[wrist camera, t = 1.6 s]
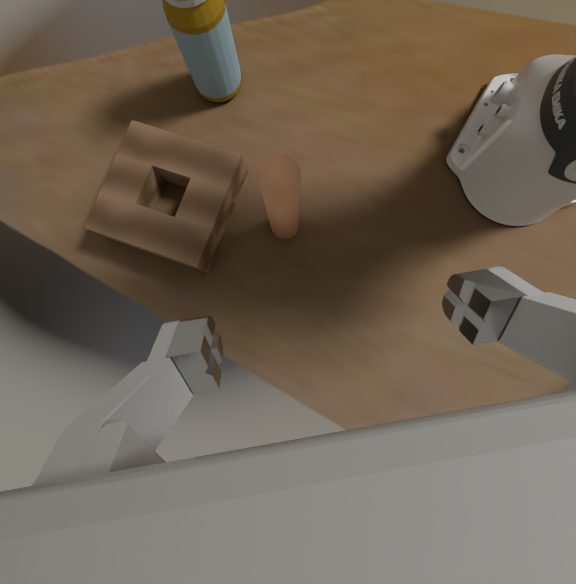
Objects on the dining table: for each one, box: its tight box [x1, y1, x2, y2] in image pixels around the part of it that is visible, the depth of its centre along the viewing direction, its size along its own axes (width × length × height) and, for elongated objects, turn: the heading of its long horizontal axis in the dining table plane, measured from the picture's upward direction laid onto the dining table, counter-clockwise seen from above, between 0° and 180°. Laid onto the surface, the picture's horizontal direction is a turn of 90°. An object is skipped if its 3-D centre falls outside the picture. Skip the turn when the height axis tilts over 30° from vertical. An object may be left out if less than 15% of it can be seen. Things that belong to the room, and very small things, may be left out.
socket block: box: [84, 120, 247, 273], centre depth 36 cm, size 16×16×4 cm
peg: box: [257, 155, 301, 240], centre depth 30 cm, size 4×4×13 cm
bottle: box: [162, 0, 242, 102], centre depth 32 cm, size 7×7×15 cm
